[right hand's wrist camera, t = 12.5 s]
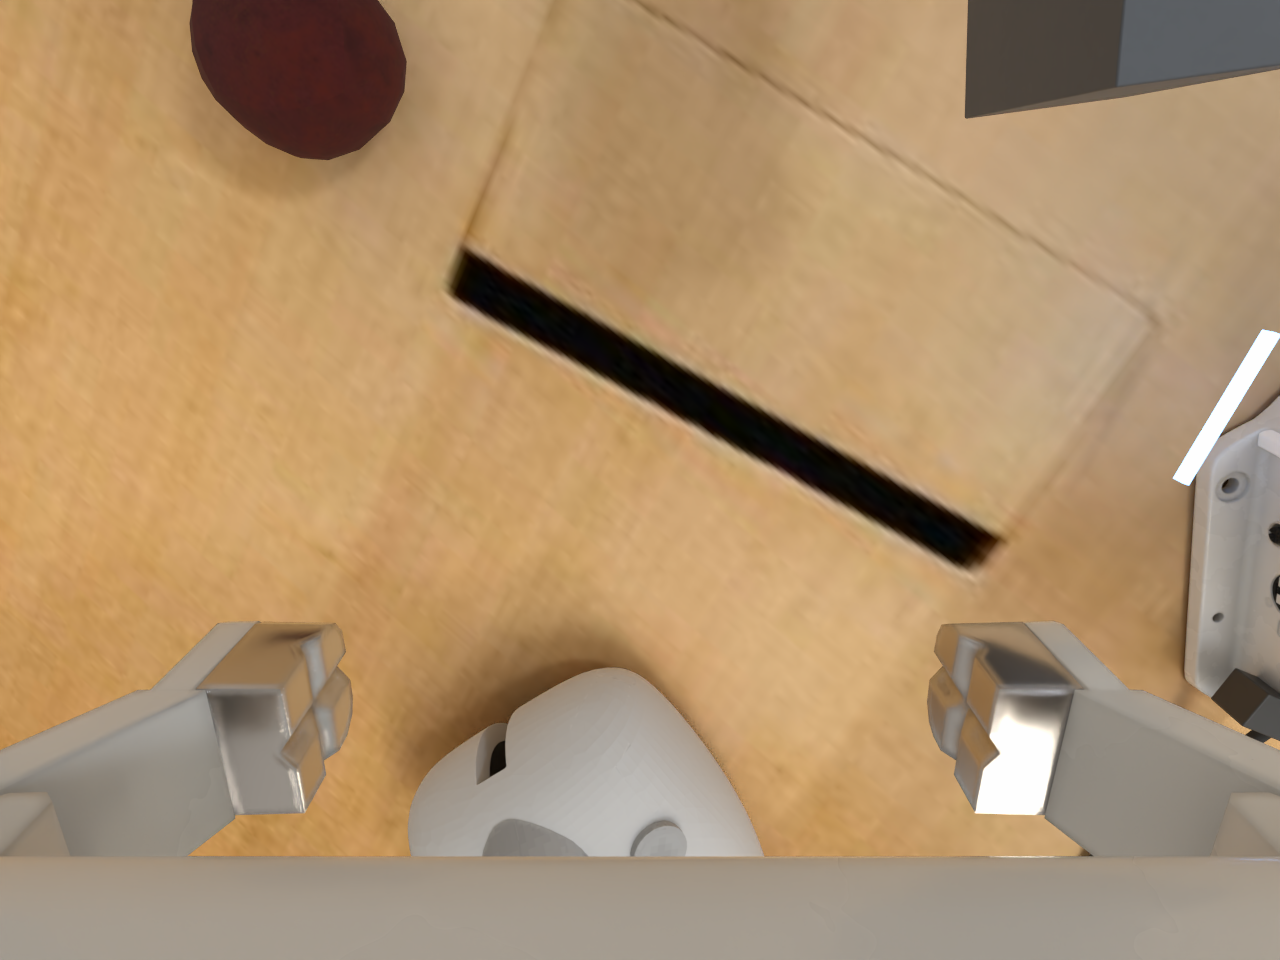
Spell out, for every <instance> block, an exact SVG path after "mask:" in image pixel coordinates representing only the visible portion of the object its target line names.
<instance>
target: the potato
mask: <svg viewBox="0 0 1280 960" xmlns="http://www.w3.org/2000/svg"><path fill="white" fill-rule="evenodd" d="M190 32H191V43H192V52H193V55H194V58H195V60H196V63H197V66H198V69H199V72H200V74H201V77H202V79H203V81H204V82H205V84H206V85H207V87H208V89H209V90H210V92H211V93H212V95H213V96H214V98H215V99H216V101H217V102H219V103H220V104H221V105H222V106H223V107H224V108H225V109H226V110H227V111H228V112H229V113H230V114H231V115H232V116H233V117H234V118H235V119H236V120H237V121H238V122H239V123H240V124H241V125H243V126H244V127H245V128H246V129H247V130H249V131H250V132H251V133H253V134H254V135H255V136H257V137H258V138H259V139H261V140H262V141H263V142H265V143H266V144H268V145H270V146H273V147H275V148H277V149H280V150H282V151H284V152H287V153H289V154H291V155H294V156H296V157H300V158H308V159H321V160H330V159H333V158H336V157H339V156H341V155H344V154H347V153H350V152H353V151H356V150H359V149H360V148H362V147H363V146H364V145H365V144H366V143H367V142H368V141H369V140H370V139H371V138H373V137H374V136H375V135H376V134H377V133H378V132H379V131H380V130H381V129H383V128H384V127H385V126H386V125H387V124H388V123H389V122H390V121H391V118H392V116H393V114H394V112H395V110H396V108H397V106H398V104H399V101H400V99H401V97H402V95H403V93H404V87H405V74H406V58H405V55H404V52H403V49H402V46H401V43H400V40H399V36H398V33H397V30H396V27H395V23H394V22H393V20H392V19H391V18H390V16H389V15H388V14H387V12H386V11H385V10H384V8H383V7H382V5H381V4H380V3H379V1H378V0H193V5H192V11H191V18H190Z"/></svg>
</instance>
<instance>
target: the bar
mask: <svg viewBox="0 0 1280 960" xmlns="http://www.w3.org/2000/svg"><path fill="white" fill-rule="evenodd" d="M1277 69H1280V0H968V23H967V59H966V94H965V118H974V117H982V116H989V115H996V114H1004V113H1011V112H1019V111H1026V110H1033V109H1041V108H1048V107H1055V106H1063V105H1070V104H1078V103H1085V102H1092V101H1100V100H1107V99H1115V98H1122V97H1128V96H1134V95H1139V94H1145V93H1150V92H1156V91H1161V90H1167V89H1172V88H1178V87H1183V86H1189V85H1194V84H1200V83H1205V82H1211V81H1216V80H1222V79H1227V78H1233V77H1238V76H1244V75H1249V74H1255V73H1260V72H1266V71H1271V70H1277Z"/></svg>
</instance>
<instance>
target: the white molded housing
mask: <svg viewBox="0 0 1280 960" xmlns="http://www.w3.org/2000/svg"><path fill="white" fill-rule="evenodd" d="M408 838H409V847H410V852H411V856H764V854H763V851H762V848H761V845H760V842H759V840H758V837H757V835H756V832H755V830H754V828H753V825H752V823H751V821H750V819H749V817H748V814H747V812H746V810H745V808H744V806H743V805H742V803H741V801H740V799H739V797H738V796H737V794H736V792H735V790H734V788H733V786H732V785H731V783H730V782H729V780H728V779H727V777H726V775H725V774H724V772H723V771H722V769H721V768H720V766H719V765H718V763H717V762H716V760H715V759H714V757H713V756H712V754H711V753H710V752H709V750H708V749H707V748H706V746H705V745H704V743H703V742H702V741H701V739H700V738H699V737H698V735H697V734H696V733H695V731H694V730H693V729H692V728H691V726H690V725H689V724H688V723H687V721H686V720H685V719H684V718H683V716H682V715H681V714H680V713H679V712H678V711H677V710H676V708H675V707H674V706H673V705H672V704H671V703H670V702H669V701H668V700H667V699H666V698H665V697H664V696H663V695H662V694H661V693H660V692H659V691H658V690H657V689H656V688H655V687H654V686H653V685H652V684H650V683H649V682H648V681H647V680H646V679H644V678H643V677H641V676H640V675H638V674H637V673H634V672H632V671H630V670H627V669H623V668H616V667H611V668H601V669H595V670H591V671H587V672H584V673H581V674H579V675H577V676H574V677H572V678H570V679H568V680H566V681H564V682H562V683H560V684H558V685H556V686H554V687H552V688H551V689H549V690H547V691H546V692H544V693H542V694H540V695H539V696H537V697H535V698H534V699H532V700H530V701H529V702H527V703H525V704H524V705H522V706H520V707H519V708H518V709H516V710H515V712H514V713H513V714H512V716H511V718H510V720H509V723H508V724H507V723H496V724H492V725H490V726H489V727H487V728H485V729H484V730H482V731H481V732H479V733H478V734H476V735H474V736H473V737H471V738H470V739H468V740H467V741H465V742H464V743H462V744H461V745H459V746H458V747H457V748H455V749H454V750H452V751H451V752H450V753H448V754H447V755H446V756H445V757H444V758H442V759H441V760H440V761H439V762H438V763H437V764H436V765H435V766H434V767H433V768H432V769H431V770H430V771H429V772H428V773H427V775H426V776H425V778H424V779H423V781H422V782H421V784H420V786H419V788H418V790H417V791H416V794H415V796H414V799H413V801H412V804H411V808H410V813H409V821H408Z"/></svg>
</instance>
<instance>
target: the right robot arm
mask: <svg viewBox="0 0 1280 960" xmlns="http://www.w3.org/2000/svg"><path fill="white" fill-rule="evenodd" d="M1279 337H1280V334H1278V333H1276V332H1271V331H1266V330H1262V331H1261V332H1260V334H1259V336H1258V337H1257V339H1256V341H1255V342H1254V344H1253V346H1252V347H1251V349H1250V351H1249V352H1248V354H1247V356H1246V357H1245V359H1244V361H1243V362H1242V364H1241V366H1240V367H1239V369H1238V371H1237V372H1236V374H1235V376H1234V377H1233V379H1232V381H1231V382H1230V384H1229V386H1228V387H1227V389H1226V391H1225V392H1224V394H1223V396H1222V397H1221V399H1220V401H1219V402H1218V404H1217V406H1216V407H1215V409H1214V411H1213V412H1212V414H1211V416H1210V417H1209V419H1208V421H1207V422H1206V424H1205V426H1204V427H1203V429H1202V431H1201V432H1200V434H1199V436H1198V437H1197V439H1196V441H1195V442H1194V444H1193V446H1192V447H1191V449H1190V451H1189V452H1188V454H1187V456H1186V457H1185V459H1184V461H1183V462H1182V464H1181V466H1180V467H1179V469H1178V471H1177V472H1176V474H1175V476H1174V477H1173V479H1175V480H1177V481H1179V482H1181V483H1183V484H1186V485H1190V483H1191V481H1192V480H1193V478H1194V476H1195V475H1196V485H1195V502H1194V518H1193V534H1192V550H1191V566H1190V582H1189V599H1188V615H1187V631H1186V647H1185V666H1184V672H1185V679H1186V681H1187V682H1188V683H1189V684H1191V685H1192V686H1194V687H1195V688H1197V689H1198V690H1199V691H1201V692H1202V693H1204V694H1205V695H1207V696H1209V697H1210V698H1211V699H1212V700H1213V701H1214V702H1215V703H1216V704H1218V705H1219V706H1220V707H1221V708H1222V709H1223V710H1224V711H1226V712H1227V713H1228V714H1229V715H1230V716H1231V717H1232V718H1234V719H1235V720H1236V721H1237V722H1238V723H1239V724H1241V725H1242V726H1244V727H1246V728H1249V729H1251V731H1250V732H1249V733H1247V734H1246V735H1244V734H1241V733H1239V732H1237V731H1234V730H1232V729H1230V728H1228V727H1225V726H1223V725H1221V724H1218V723H1216V722H1214V721H1212V720H1209V719H1207V718H1205V717H1202V716H1200V715H1198V714H1196V713H1193V712H1191V711H1189V710H1186V709H1184V708H1182V707H1180V706H1177V705H1175V704H1173V703H1171V702H1168V701H1166V700H1164V699H1161V698H1159V697H1157V696H1155V695H1152V694H1150V693H1148V692H1145V691H1143V690H1129V689H1128V688H1127V687H1126V686H1125V685H1124V684H1123V683H1122V682H1121V681H1120V680H1119V679H1118V678H1117V677H1116V676H1115V675H1114V674H1113V673H1112V672H1111V671H1110V670H1109V669H1108V668H1107V667H1106V666H1105V665H1104V664H1103V663H1102V662H1101V661H1100V660H1099V659H1098V658H1097V657H1096V656H1095V655H1094V654H1093V653H1092V652H1091V651H1090V650H1089V649H1088V648H1087V647H1086V646H1085V645H1084V644H1083V643H1082V642H1081V641H1080V640H1079V639H1078V638H1077V637H1076V636H1075V635H1074V634H1073V633H1072V632H1071V631H1070V630H1069V629H1068V628H1067V627H1066V626H1065V625H1064V624H1061V623H1058V622H1055V621H1037V622H1002V623H962V624H943V625H941V627H940V630H939V632H938V634H937V637H936V643H935V649H934V652H935V654H936V656H937V657H938V659H939V660H940V662H941V663H942V665H943V667H942V668H941V669H940V670H939V671H938V672H937V673H936V674H935V675H934V676H933V677H932V678H931V679H930V681H929V690H928V698H927V705H928V716H929V723H930V727H931V730H932V733H933V736H934V738H935V740H936V742H937V744H938V746H939V748H940V750H941V751H943V752H944V753H946V754H947V755H949V756H950V757H952V758H953V759H955V760H956V766H955V772H954V775H955V777H956V779H957V781H958V783H959V784H960V786H961V788H962V790H963V792H964V793H965V795H966V797H967V799H968V801H969V802H970V804H971V806H972V808H973V809H974V811H975V813H990V814H1027V815H1045V819H1046V820H1048V821H1049V822H1050V823H1052V824H1053V825H1054V826H1055V827H1057V828H1058V829H1059V830H1061V831H1062V832H1063V833H1064V834H1066V835H1067V836H1068V837H1070V838H1071V839H1072V840H1073V841H1075V842H1076V843H1077V844H1078V845H1080V846H1081V847H1082V848H1084V849H1085V850H1086V851H1087V852H1089V853H1090V855H1089V856H188V855H189V854H190V853H191V852H193V851H194V850H195V849H197V848H198V847H199V846H200V845H202V844H203V843H204V842H206V841H207V840H208V839H209V838H211V837H212V836H213V835H215V834H216V833H217V832H218V831H220V830H221V829H222V828H224V827H225V826H226V825H227V824H229V823H230V822H231V821H233V820H234V819H235V815H252V814H288V813H305V811H306V810H307V808H308V806H309V804H310V802H311V801H312V799H313V797H314V795H315V793H316V792H317V790H318V788H319V786H320V784H321V783H322V781H323V779H324V777H325V775H326V772H325V766H324V760H325V759H327V758H328V757H330V756H331V755H333V754H334V753H336V752H337V751H339V750H340V748H341V746H342V744H343V742H344V740H345V738H346V736H347V734H348V730H349V725H350V721H351V717H352V700H353V695H352V688H351V681H350V679H349V678H348V677H347V676H346V675H345V674H344V673H343V672H342V671H341V670H340V669H339V668H338V667H337V665H338V663H339V662H340V660H341V659H342V657H343V656H344V654H345V652H346V649H345V644H344V639H343V634H342V630H341V629H340V628H339V627H338V626H337V625H336V623H305V622H260V621H238V622H223V623H218V624H217V625H216V626H215V627H214V628H213V629H212V630H211V631H210V632H209V633H208V634H207V635H206V636H205V637H204V638H203V639H202V640H201V641H199V642H198V643H197V644H196V645H195V646H194V647H193V648H192V649H191V650H190V651H189V652H188V653H187V654H186V655H185V656H184V657H183V658H182V659H181V660H180V661H179V662H178V663H177V664H176V665H175V666H174V667H173V668H172V669H171V670H170V671H169V672H168V673H167V674H166V675H165V676H164V677H163V678H162V679H161V680H160V681H159V682H158V683H157V684H156V685H155V686H154V687H153V688H152V689H151V690H137V691H135V692H132V693H130V694H128V695H125V696H123V697H121V698H119V699H116V700H114V701H112V702H109V703H107V704H105V705H103V706H100V707H98V708H96V709H93V710H91V711H89V712H87V713H84V714H82V715H80V716H77V717H75V718H73V719H71V720H68V721H66V722H64V723H61V724H59V725H57V726H54V727H52V728H50V729H48V730H45V731H43V732H41V733H38V734H36V735H34V736H32V737H29V738H27V739H25V740H22V741H20V742H18V743H16V744H13V745H11V746H9V747H6V748H4V749H2V750H0V960H1280V750H1278V749H1275V748H1273V747H1271V746H1269V745H1266V744H1264V742H1265V741H1267V740H1268V739H1270V738H1274V739H1276V740H1279V741H1280V395H1279V396H1278V397H1277V398H1276V399H1275V400H1274V401H1273V402H1272V403H1271V404H1270V405H1269V406H1268V407H1267V408H1266V409H1265V410H1264V411H1263V412H1262V413H1260V414H1259V415H1258V416H1257V417H1255V418H1254V419H1252V420H1250V421H1248V422H1246V423H1244V424H1242V425H1241V426H1239V427H1237V428H1235V429H1233V430H1231V431H1229V432H1227V433H1226V434H1224V435H1222V436H1221V437H1219V435H1220V434H1221V432H1222V430H1223V429H1224V427H1225V426H1226V424H1227V422H1228V421H1229V419H1230V417H1231V416H1232V414H1233V412H1234V411H1235V409H1236V408H1237V406H1238V404H1239V403H1240V401H1241V399H1242V398H1243V396H1244V394H1245V393H1246V391H1247V390H1248V388H1249V386H1250V385H1251V383H1252V381H1253V380H1254V378H1255V376H1256V375H1257V373H1258V372H1259V370H1260V368H1261V367H1262V365H1263V363H1264V362H1265V360H1266V358H1267V357H1268V355H1269V354H1270V352H1271V350H1272V349H1273V347H1274V345H1275V344H1276V342H1277V340H1278V339H1279ZM1218 437H1219V438H1218ZM1227 479H1229V481H1228V483H1227V485H1226V486H1224V487H1223V488H1222V485H1223V483H1224V482H1225V481H1226V480H1227Z"/></svg>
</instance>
